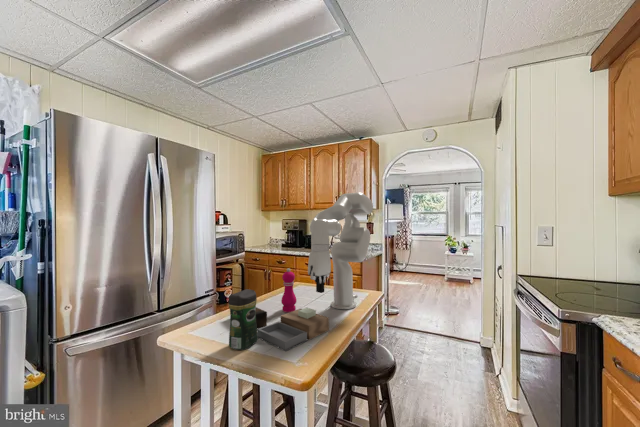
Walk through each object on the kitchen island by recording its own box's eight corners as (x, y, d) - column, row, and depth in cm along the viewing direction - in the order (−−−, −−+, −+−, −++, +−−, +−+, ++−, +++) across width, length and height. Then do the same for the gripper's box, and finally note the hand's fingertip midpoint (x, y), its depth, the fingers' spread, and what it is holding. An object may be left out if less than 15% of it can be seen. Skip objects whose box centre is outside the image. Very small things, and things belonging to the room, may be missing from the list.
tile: (307, 312, 110) (307, 307, 110) (315, 315, 107) (315, 310, 107) (298, 315, 107) (298, 310, 107) (307, 318, 103) (306, 313, 103)
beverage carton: (246, 314, 124) (246, 300, 124) (268, 326, 110) (268, 310, 110) (229, 319, 119) (229, 304, 119) (250, 332, 104) (250, 315, 104)
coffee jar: (244, 337, 99) (243, 286, 100) (261, 341, 96) (260, 288, 96) (224, 348, 91) (223, 293, 91) (242, 353, 87) (241, 295, 88)
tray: (278, 329, 106) (278, 321, 106) (307, 340, 95) (306, 332, 95) (257, 337, 99) (257, 329, 99) (285, 351, 88) (285, 342, 88)
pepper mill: (294, 313, 124) (293, 269, 125) (279, 312, 126) (278, 269, 126) (298, 308, 131) (297, 267, 132) (284, 307, 133) (283, 266, 133)
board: (300, 320, 115) (300, 308, 115) (328, 330, 104) (328, 317, 104) (280, 328, 107) (280, 315, 107) (309, 339, 96) (308, 325, 96)
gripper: (325, 247, 122) (325, 287, 121) (301, 249, 111) (301, 294, 110) (338, 247, 116) (338, 290, 116) (314, 250, 105) (314, 297, 105)
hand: (320, 292), depth 113 cm, fingers closed
